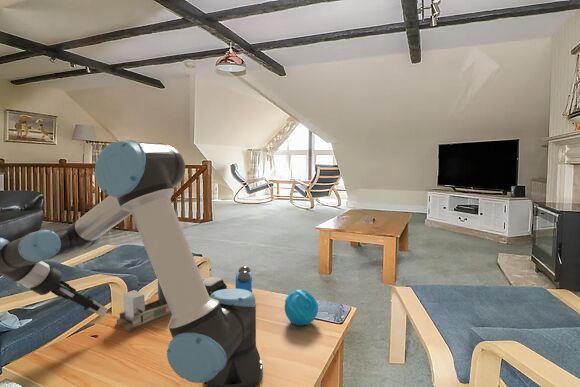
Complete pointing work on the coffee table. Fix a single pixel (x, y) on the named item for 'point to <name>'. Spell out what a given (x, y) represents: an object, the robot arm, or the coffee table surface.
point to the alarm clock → (244, 279)
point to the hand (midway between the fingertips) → (104, 312)
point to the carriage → (133, 304)
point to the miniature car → (214, 285)
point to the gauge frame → (147, 314)
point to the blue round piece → (301, 307)
